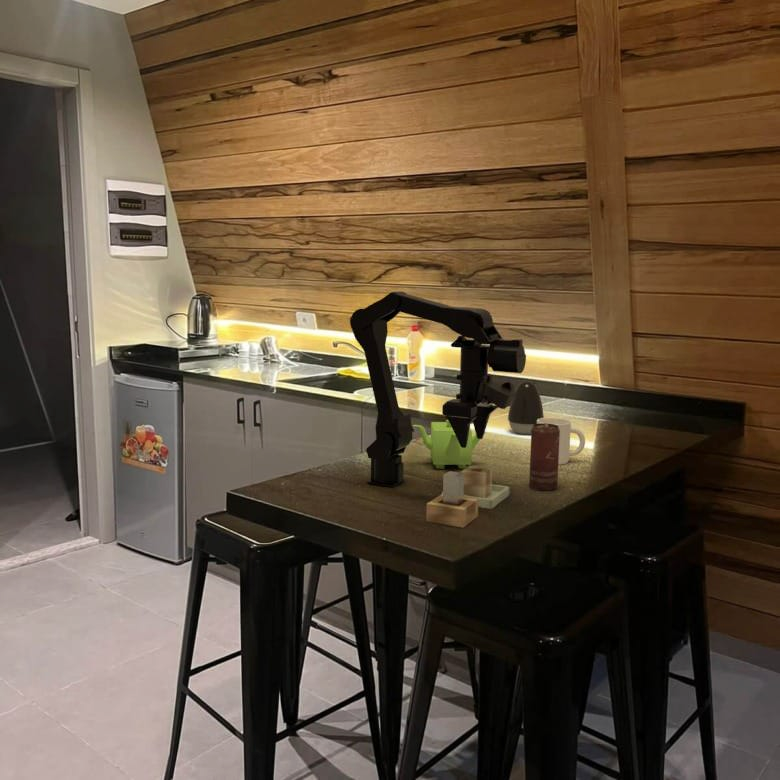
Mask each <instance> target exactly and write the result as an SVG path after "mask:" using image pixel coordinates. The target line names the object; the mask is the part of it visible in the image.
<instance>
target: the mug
mask: <svg viewBox="0 0 780 780" xmlns="http://www.w3.org/2000/svg"><path fill="white" fill-rule="evenodd" d="M571 422H572V421H570V419H565V418H561V417H544V418H541V419H538V420H537V424H541V423H547V424H554V425H557V426H558V428H559V430H560V438H559V460H558V466H561V465H566V464H567V463H568V462H569V459H570V457H573V456H577V455H579V454H581V452H582V451H583V450H584V448H585V445H586V436H585V434H584V433H583V431H582V430H581V429H580V428H579V427H576V426H572V423H571ZM571 433H572V434H576V435H577V437H578V439H579V445H578V447H577V448H576V449H573V450H572V449H571V446H570V444H571Z"/></svg>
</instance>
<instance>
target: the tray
mask: <svg viewBox="0 0 780 780" xmlns="http://www.w3.org/2000/svg"><path fill="white" fill-rule="evenodd" d="M510 491H511V487H510V486H506V485H498V484H493V483H492V494H491V495H489V496H488V497H487V498H479V497H473V496H466V495H463V497H467V498H474V499H478V508H482V509H488V510H492V509H493V508H495V507H496V506H497V505H498V504H500V503H501V502H502V501H504V500H505V499H506V498H507V497H509V496H510V494H511V493H510ZM441 494H443V491H442V492H441Z"/></svg>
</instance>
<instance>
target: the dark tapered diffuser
mask: <svg viewBox="0 0 780 780" xmlns="http://www.w3.org/2000/svg"><path fill="white" fill-rule="evenodd" d="M536 384H537V383H536V381H529V380H525V381H522V382H520V383H519V384H518V386H517V387H516V388H515V389H514V391H516V392H515V398H513V400H512V402H511V405H510V407H508V408H509V409H508V415H507V420H508V424H509V426H510V429H512V431H513V432H515V433H517V434H520V435H531V429H532V428H533V425H534V424H537V420H538V419H541V418H545V417H544V408H543V407H544V406H543V402H542V399H541V394H540V392H539V390H538V387H537V385H536Z"/></svg>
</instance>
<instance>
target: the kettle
mask: <svg viewBox="0 0 780 780" xmlns="http://www.w3.org/2000/svg"><path fill="white" fill-rule="evenodd" d="M411 425H412V424H411ZM412 427H413V428H414V427H415V428H416V429H417V430H418V432H419V434H420V436H421V440H422V443H423V445H424V446H425V448H426V449H428V450H429V451H430V457H431V461H432V464H433V466H434V465H435V467H434V468H435V469H438V470H443V469H445V468H446V466H448V465H450V466H457V468H458V469H461V470H464V469H466V468H467V467H468V466H472V458H473V457H472V453H473V450H474V448H475V447H476V446H477V444H478V443H479V442H480V441H481V439H478V438H477V435H476V433H474V435H473V431H472V429H471V427H470V429H469V436H468V442H467V446H466V448H462V447H461V446H460V444H459V442H458V440H457V437H456V435H455V433H454V431H453V429H452V427H451V425H450V423H449V421H448V419H446V420H445V421H431V423H430V437H429V436H428V435H427V430H426V429H425V427H424V426H423V425H420V424H413V425H412ZM485 434H486V432H485V433H484V435H485Z"/></svg>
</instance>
